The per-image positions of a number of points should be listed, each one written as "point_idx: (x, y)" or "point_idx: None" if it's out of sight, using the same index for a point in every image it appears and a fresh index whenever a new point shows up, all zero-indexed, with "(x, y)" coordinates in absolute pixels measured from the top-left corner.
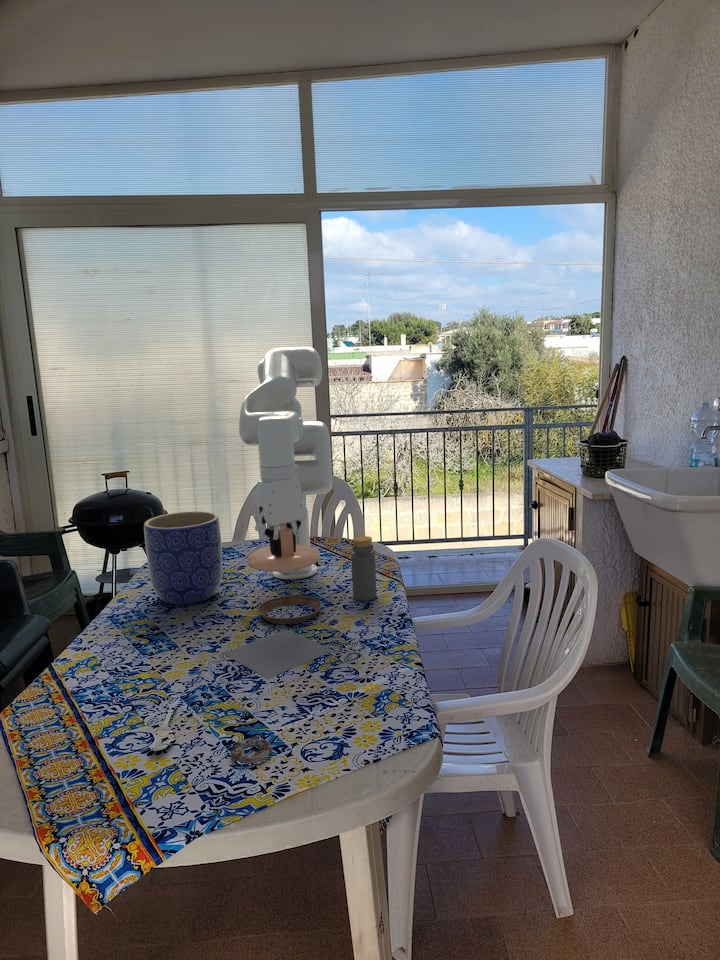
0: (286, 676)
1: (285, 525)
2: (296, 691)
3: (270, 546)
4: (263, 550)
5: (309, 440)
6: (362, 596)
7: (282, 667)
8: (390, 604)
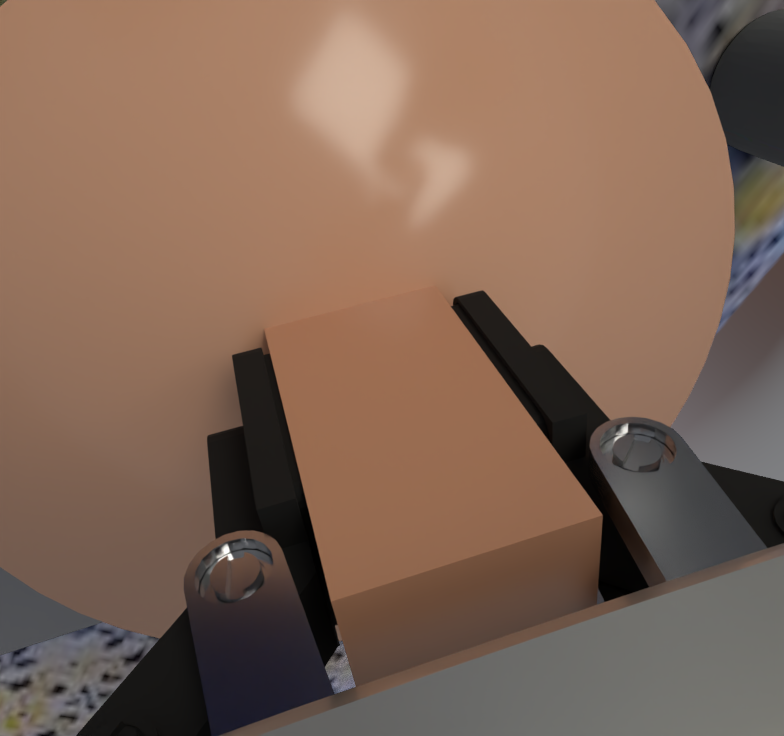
0: (55, 639)
1: (636, 532)
2: (60, 716)
3: (213, 484)
4: (216, 25)
5: None
6: (730, 139)
7: (53, 613)
8: (746, 251)
